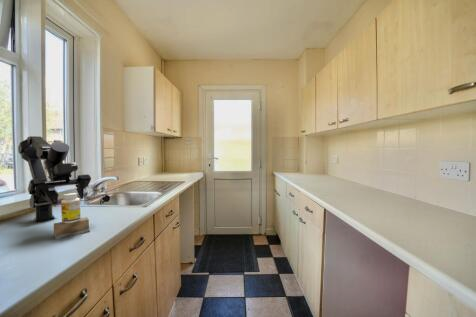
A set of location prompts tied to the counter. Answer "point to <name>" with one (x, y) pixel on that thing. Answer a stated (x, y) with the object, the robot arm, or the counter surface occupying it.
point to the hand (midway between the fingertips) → (68, 200)
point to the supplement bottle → (70, 208)
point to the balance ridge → (71, 228)
